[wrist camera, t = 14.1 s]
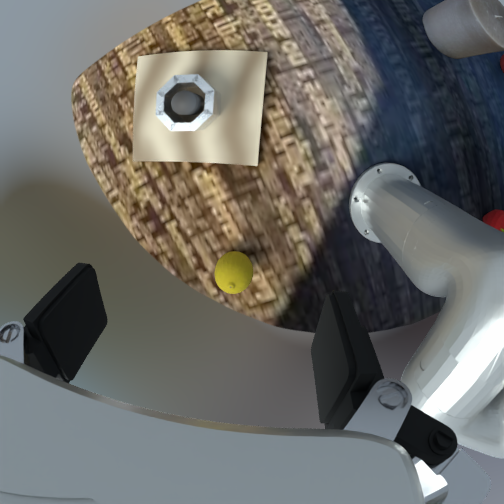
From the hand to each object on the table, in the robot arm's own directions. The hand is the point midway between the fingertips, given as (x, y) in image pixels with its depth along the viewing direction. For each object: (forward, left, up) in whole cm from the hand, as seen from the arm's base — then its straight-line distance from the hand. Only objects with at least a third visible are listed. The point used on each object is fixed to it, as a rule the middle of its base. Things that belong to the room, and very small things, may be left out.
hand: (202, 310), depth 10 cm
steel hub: (+8, -9, -29) cm, 31 cm away
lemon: (+1, +14, -31) cm, 34 cm away
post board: (+8, -9, -30) cm, 33 cm away
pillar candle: (-29, -30, -31) cm, 52 cm away
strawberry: (-44, +1, -31) cm, 54 cm away
